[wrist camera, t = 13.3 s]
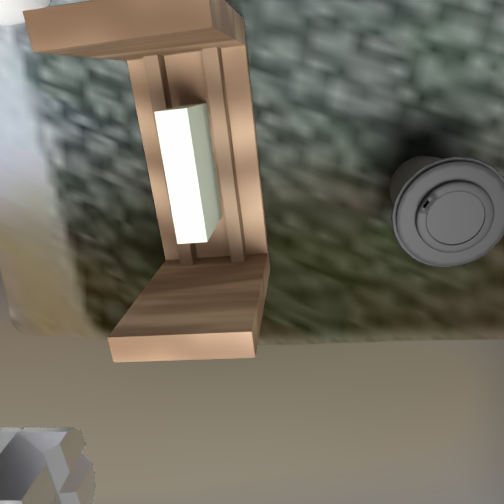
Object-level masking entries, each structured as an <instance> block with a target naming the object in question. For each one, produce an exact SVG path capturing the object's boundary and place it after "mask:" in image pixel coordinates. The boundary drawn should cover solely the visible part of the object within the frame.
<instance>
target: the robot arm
mask: <svg viewBox="0 0 504 504" xmlns="http://www.w3.org/2000/svg"><path fill="white" fill-rule="evenodd" d="M85 446H86V442H85V440H84V437H83V434H82V432H81V430H79V429H76V428H52V427H51V428H50V427H26V428H9V427H7V428H6V427H3V428H0V504H92V501H93V496H94V491H95V486H96V483H95V471H94V468H93V464H92V462H91V461H89V460H88V459H87V458H86V457H85V456H84V455H83V454H81V453H82V451H83V449H84V447H85Z"/></svg>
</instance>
